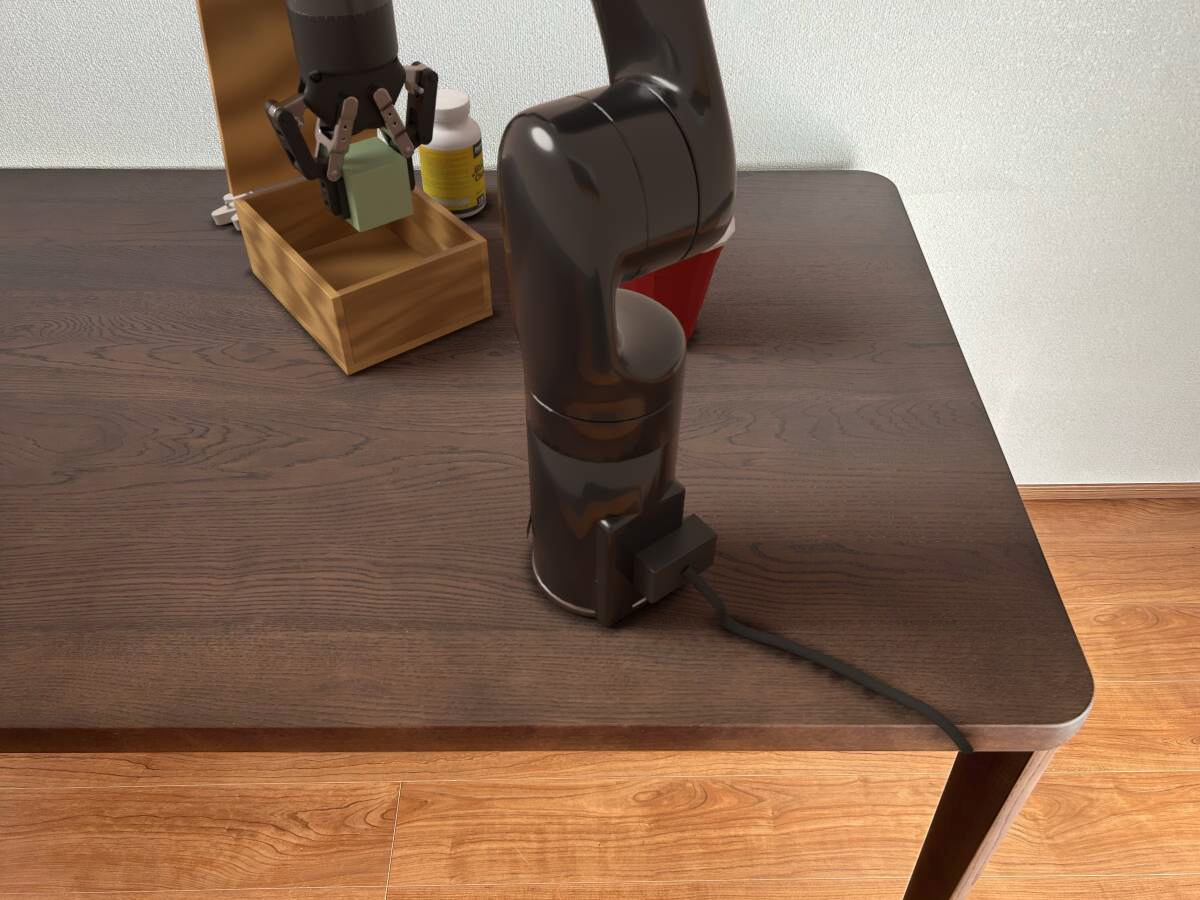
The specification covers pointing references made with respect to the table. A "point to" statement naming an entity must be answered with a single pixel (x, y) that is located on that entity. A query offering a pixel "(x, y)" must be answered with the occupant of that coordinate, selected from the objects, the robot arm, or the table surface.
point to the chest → (366, 272)
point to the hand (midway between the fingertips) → (372, 204)
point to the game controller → (228, 211)
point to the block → (376, 184)
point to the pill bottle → (454, 157)
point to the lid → (253, 88)
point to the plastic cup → (682, 284)
